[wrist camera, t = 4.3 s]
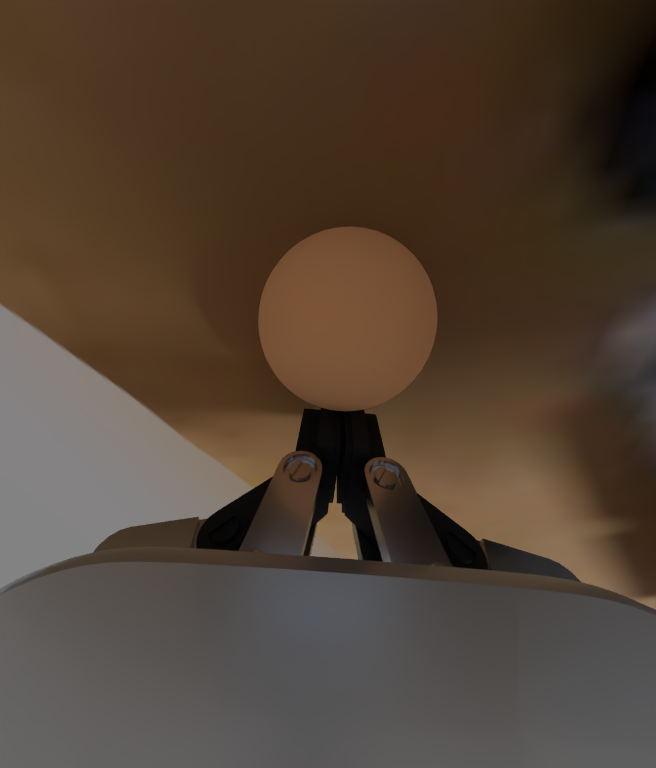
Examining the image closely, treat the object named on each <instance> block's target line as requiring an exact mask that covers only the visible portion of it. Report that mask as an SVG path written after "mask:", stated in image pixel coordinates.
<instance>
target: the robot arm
mask: <svg viewBox="0 0 656 768" xmlns="http://www.w3.org/2000/svg"><path fill="white" fill-rule="evenodd" d="M336 477H337V503H342V513H345V515H346V516H347V518H348V519H349V520H350V521H351V522H352V530H353V535H354V540H355V545H356V550H357V555H358V560H354V559H340V558H327V557H314V556H310V555H311V550H312V546H313V542H314V537H315V533H316V528H317V522H318V521H320V520H321V519H322V518H323V517H324V516H325V515H326V514H327V513H328V506H329V503H333V498H334V491H335V484H336ZM0 768H656V610H655V609H653V608H651V607H648V606H646V605H644V604H641V603H639V602H637V601H635V600H632V599H630V598H628V597H626V596H623V595H620V594H618V593H615V592H612V591H609V590H606V589H603V588H600V587H597V586H594V585H590V584H586V583H582V582H581V581H580V580H579V579H578V578H577V577H576V576H575V575H574V574H573V573H572V572H571V571H569V570H568V569H566V568H565V567H564V566H562V565H561V564H559V563H557V562H555V561H553V560H551V559H548V558H545V557H541V556H538V555H535V554H531V553H528V552H525V551H522V550H518V549H515V548H512V547H509V546H505V545H502V544H499V543H495V542H492V541H489V540H486V539H482V540H481V541H477V540H476V539H475V538H474V537H473V536H472V535H471V534H470V533H468V532H467V531H466V530H465V529H463V528H462V527H461V526H459V525H458V524H457V523H456V522H454V521H453V520H452V519H450V518H449V517H448V516H446V515H445V514H444V513H442V512H441V511H440V510H439V509H437V508H436V507H435V506H433V505H432V504H431V503H429V502H428V501H427V500H425V499H424V498H423V497H422V496H420V495H419V494H418V493H417V492H416V490H415V488H414V486H413V484H412V482H411V480H410V478H409V476H408V474H407V472H406V471H405V469H404V468H403V467H402V466H401V465H400V464H399V463H397V462H396V461H394V460H392V459H389V458H386V456H385V451H384V447H383V443H382V439H381V434H380V430H379V426H378V422H377V417H376V415H375V414H365V413H364V410H357V411H335V410H329V409H325V408H321V410H315V409H304V412H303V417H302V422H301V427H300V432H299V437H298V441H297V446H296V451H295V452H292V453H290V454H287V455H286V456H285V457H284V458H283V459H282V460H281V461H280V463H279V465H278V467H277V469H276V471H275V474H274V476H273V477H271V478H270V479H268V480H267V481H265V482H263V483H262V484H260V485H259V486H257V487H255V488H254V489H252V490H251V491H249V492H248V493H246V494H244V495H242V496H241V497H239V498H238V499H236V500H235V501H233V502H231V503H230V504H228V505H226V506H225V507H223V508H222V509H220V510H218V511H217V512H216V513H214V514H213V515H212V516H210V517H209V518H208V519H203V520H199V517H193V518H187V519H180V520H174V521H167V522H161V523H154V524H147V525H141V526H134V527H129V528H126V529H123V530H119V531H118V532H116V533H114V534H112V535H111V536H109V537H108V538H106V539H105V540H104V541H103V542H102V543H101V544H100V545H99V546H98V547H97V548H96V549H95V551H94V552H93V553H89V554H85V555H82V556H77V557H74V558H70V559H67V560H64V561H62V562H58V563H55V564H52V565H50V566H48V567H44V568H42V569H39V570H37V571H34V572H32V573H30V574H28V575H25V576H23V577H21V578H19V579H17V580H15V581H13V582H11V583H10V584H8V585H6V586H4V587H2V588H1V589H0Z"/></svg>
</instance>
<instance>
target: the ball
mask: <svg viewBox="0 0 656 768" xmlns="http://www.w3.org/2000/svg"><path fill="white" fill-rule="evenodd" d="M437 319H438V315H437V303H436V299H435V294H434V290H433V287H432V284H431V282H430V279H429V277H428V275H427V273H426V271H425V270H424V268H423V266H422V264H421V263H420V262H419V261H418V259H417V258H416V257H415V256H414V254H413V253H412V252H410V251H409V250H408V249H407V248H406V247H405V246H404V245H403V244H401V243H400V242H398V241H397V240H395V239H394V238H392V237H390V236H388V235H386V234H384V233H381V232H379V231H376V230H372V229H368V228H363V227H353V226H349V227H336V228H331V229H327V230H323V231H321V232H318V233H315V234H313V235H311V236H309V237H307V238H305V239H304V240H302V241H300V242H299V243H298V244H296V245H295V246H294V247H292V248H291V249H290V250H289V251H288V252H287V253H286V254H285V255H284V256H283V257H282V258H281V259H280V261H279V262H278V263H277V265H276V266H275V268H274V269H273V270H272V272H271V274H270V276H269V278H268V280H267V282H266V284H265V287H264V290H263V293H262V295H261V301H260V306H259V316H258V327H259V336H260V341H261V345H262V349H263V352H264V354H265V357H266V360H267V362H268V363H269V365H270V367H271V369H272V370H273V372H274V374H275V375H276V376H277V378H278V379H279V380H280V381H281V382H282V383H283V385H284V386H285V387H286V388H288V389H289V390H290V391H291V392H292V393H294V394H295V395H296V396H298V397H299V398H301V399H303V400H305V401H306V402H308V403H310V404H312V405H315V406H318V407H321V408H325V409H329V410H335V411H357V410H364V409H368V408H372V407H374V406H377V405H380V404H382V403H384V402H386V401H388V400H390V399H392V398H393V397H395V396H396V395H398V394H399V393H401V392H402V391H403V390H404V389H405V388H406V387H407V386H408V385H410V384H411V383H412V382H413V381H414V379H415V378H416V377H417V375H418V374H419V373H420V372H421V370H422V368H423V367H424V365H425V363H426V361H427V360H428V358H429V355H430V353H431V350H432V348H433V344H434V340H435V335H436V331H437Z"/></svg>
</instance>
